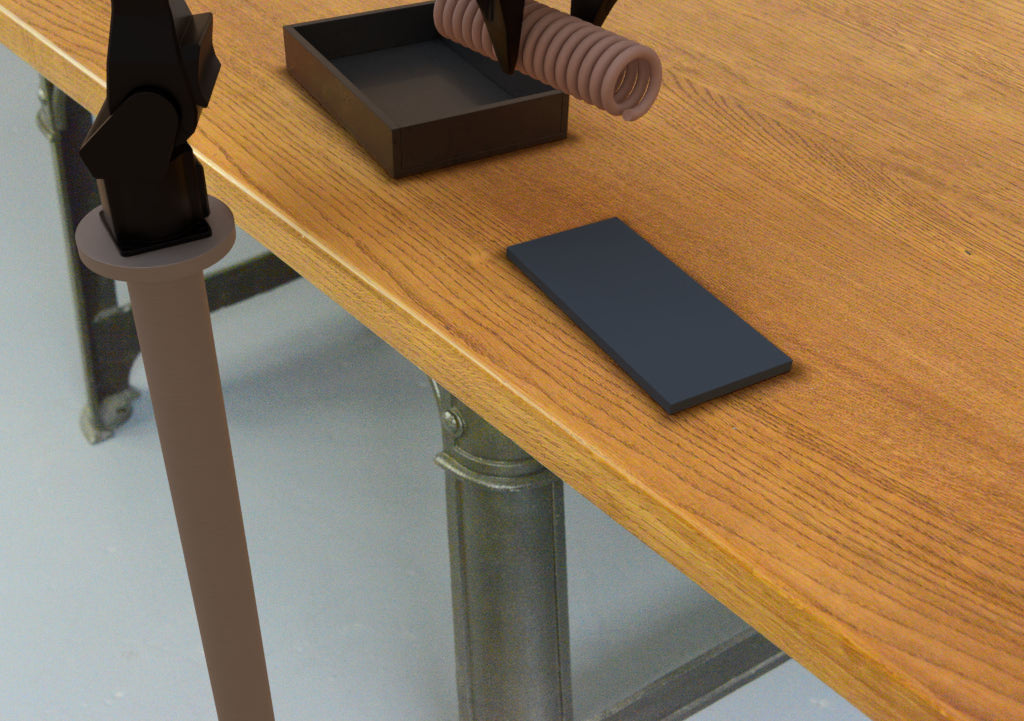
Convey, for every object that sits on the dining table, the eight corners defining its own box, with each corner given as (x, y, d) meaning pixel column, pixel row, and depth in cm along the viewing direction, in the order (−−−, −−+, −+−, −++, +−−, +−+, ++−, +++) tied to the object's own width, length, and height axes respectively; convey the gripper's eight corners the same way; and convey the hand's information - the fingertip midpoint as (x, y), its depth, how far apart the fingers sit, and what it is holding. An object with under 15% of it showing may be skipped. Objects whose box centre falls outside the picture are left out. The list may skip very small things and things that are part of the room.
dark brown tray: (393, 179, 87) (391, 129, 84) (286, 70, 102) (282, 25, 99) (567, 138, 93) (570, 90, 90) (441, 41, 108) (441, -2, 106)
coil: (425, -17, 79) (617, 65, 68) (476, -39, 81) (670, 38, 70) (432, 46, 82) (617, 134, 71) (481, 24, 84) (667, 106, 74)
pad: (669, 415, 66) (671, 404, 65) (505, 256, 78) (506, 246, 78) (791, 370, 69) (793, 359, 69) (615, 225, 82) (616, 216, 82)
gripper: (607, -227, 77) (591, 3, 86) (350, -202, 69) (364, 47, 78) (711, -192, 69) (681, 55, 79) (437, -160, 61) (440, 110, 71)
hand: (542, 64), depth 77 cm, fingers closed on coil, 5 cm apart
